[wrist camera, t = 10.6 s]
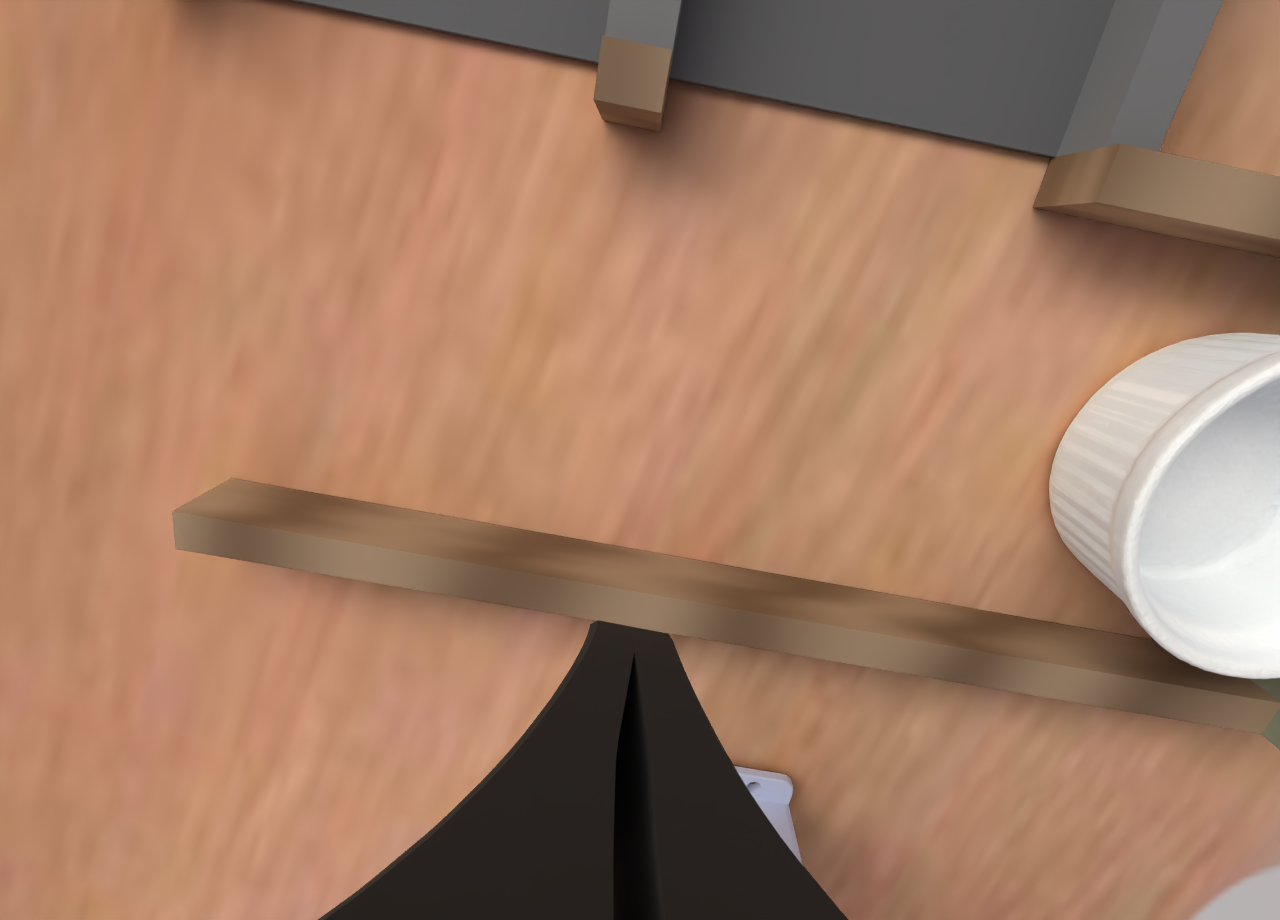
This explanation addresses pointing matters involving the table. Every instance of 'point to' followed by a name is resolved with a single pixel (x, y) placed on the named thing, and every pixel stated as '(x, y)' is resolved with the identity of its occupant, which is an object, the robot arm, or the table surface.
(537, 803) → the robot arm
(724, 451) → the table surface
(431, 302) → the table surface
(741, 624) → the walnut channel
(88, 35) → the table surface
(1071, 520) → the ramekin
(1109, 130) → the grey e-shaped block
